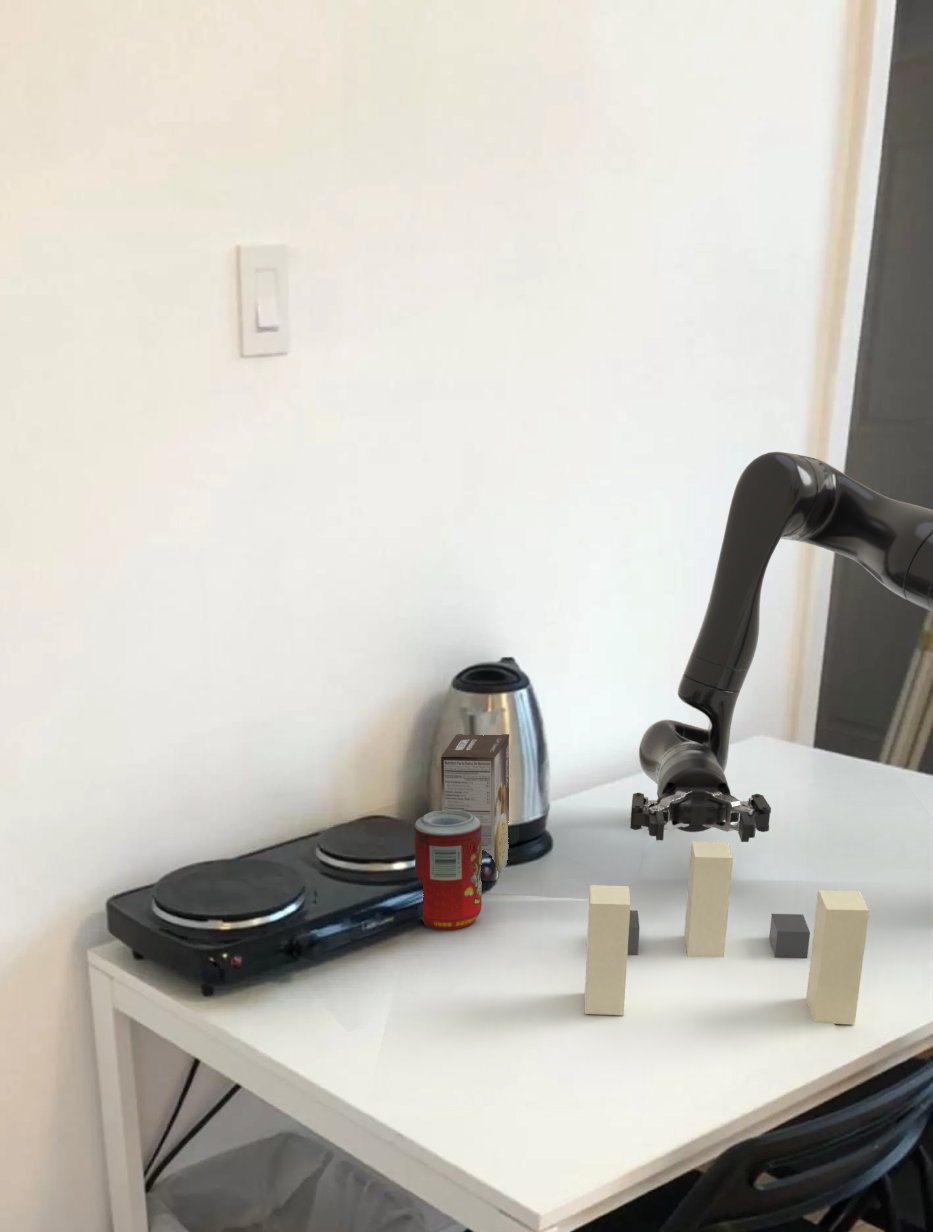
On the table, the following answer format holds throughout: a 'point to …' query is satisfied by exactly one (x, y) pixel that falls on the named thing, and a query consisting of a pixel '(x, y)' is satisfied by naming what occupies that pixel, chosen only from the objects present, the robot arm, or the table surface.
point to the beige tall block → (837, 956)
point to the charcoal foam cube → (789, 936)
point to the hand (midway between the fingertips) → (703, 832)
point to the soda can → (449, 868)
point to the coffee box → (480, 787)
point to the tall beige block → (708, 899)
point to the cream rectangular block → (607, 949)
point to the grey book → (633, 933)
